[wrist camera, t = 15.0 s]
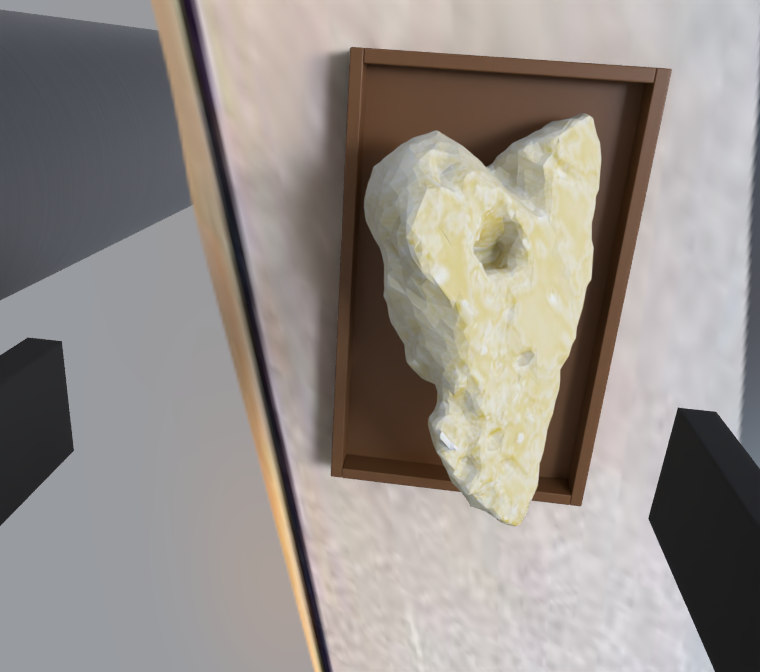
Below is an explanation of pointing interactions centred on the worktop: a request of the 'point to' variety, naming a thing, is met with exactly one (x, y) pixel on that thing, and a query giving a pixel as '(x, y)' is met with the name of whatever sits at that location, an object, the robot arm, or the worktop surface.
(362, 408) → the holder
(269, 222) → the worktop surface
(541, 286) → the cheese
